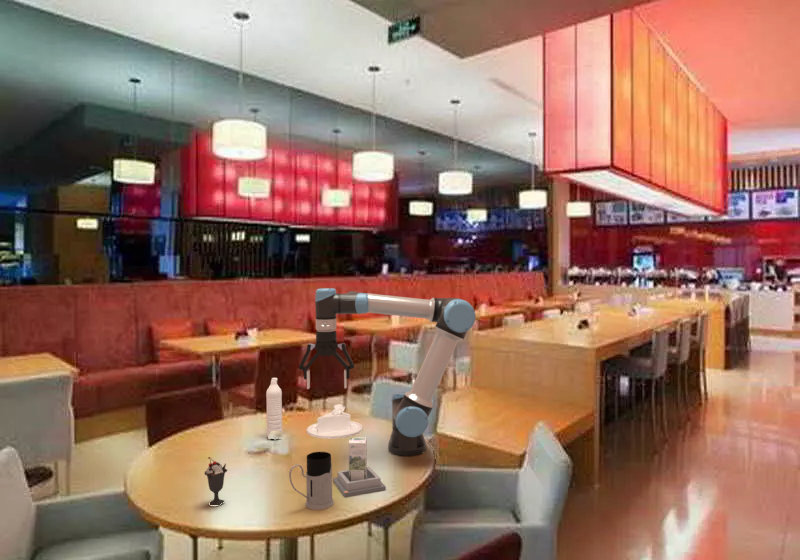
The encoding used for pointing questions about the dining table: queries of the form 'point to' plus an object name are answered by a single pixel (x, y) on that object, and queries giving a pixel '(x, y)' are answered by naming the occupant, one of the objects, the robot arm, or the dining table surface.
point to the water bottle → (274, 407)
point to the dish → (334, 425)
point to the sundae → (215, 480)
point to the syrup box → (357, 459)
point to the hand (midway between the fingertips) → (327, 388)
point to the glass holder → (317, 480)
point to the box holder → (358, 483)
